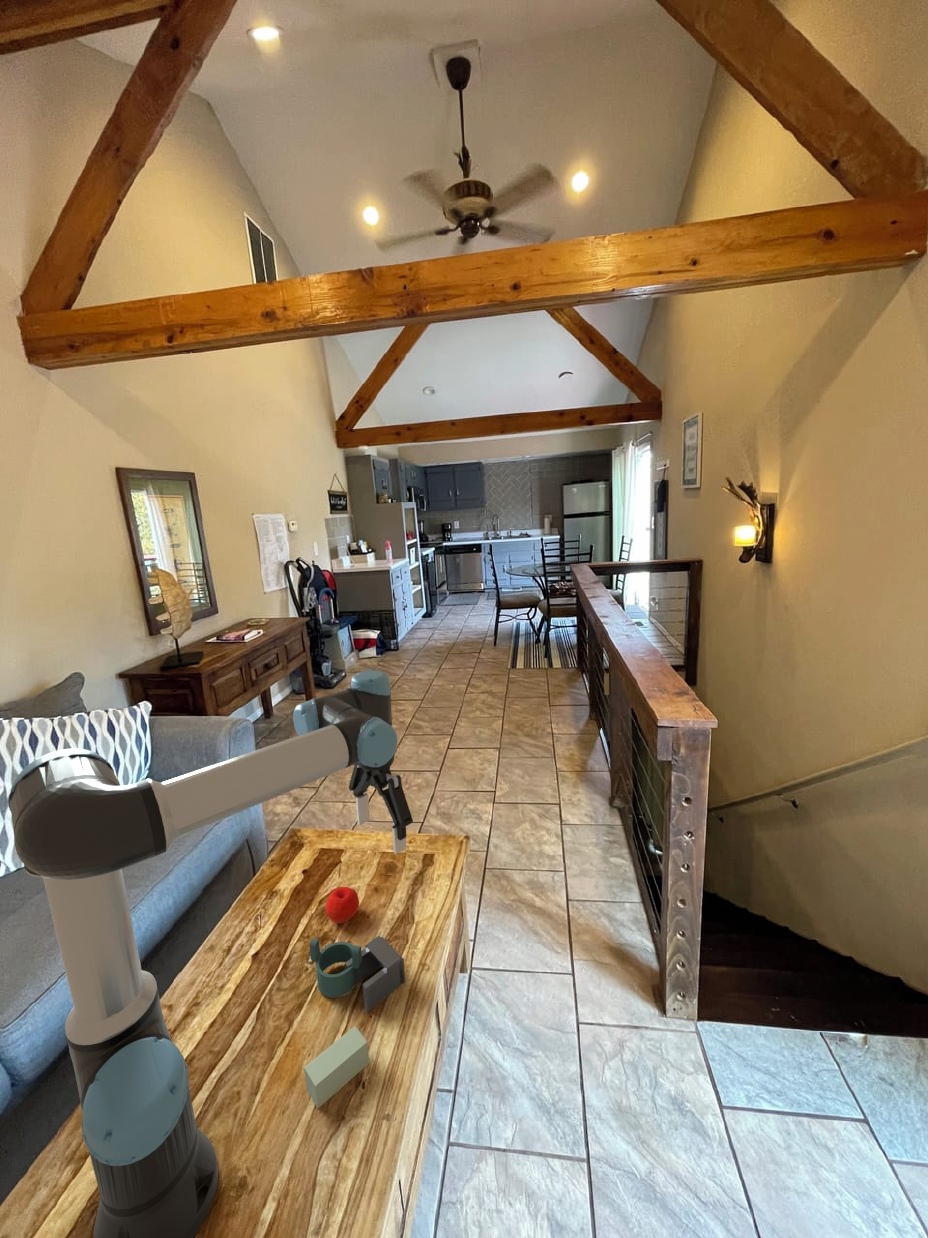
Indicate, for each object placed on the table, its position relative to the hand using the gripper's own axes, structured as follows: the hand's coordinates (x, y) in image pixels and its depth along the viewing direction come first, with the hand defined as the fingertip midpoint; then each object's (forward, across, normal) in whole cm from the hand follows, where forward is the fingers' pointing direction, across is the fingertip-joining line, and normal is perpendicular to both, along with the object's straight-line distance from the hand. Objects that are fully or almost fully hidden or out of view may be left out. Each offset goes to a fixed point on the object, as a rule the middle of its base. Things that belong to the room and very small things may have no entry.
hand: (381, 836), depth 109 cm
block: (+28, -16, +22) cm, 39 cm away
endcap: (+28, -6, +8) cm, 30 cm away
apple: (+28, +14, +4) cm, 32 cm away
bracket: (+28, 0, +12) cm, 30 cm away
